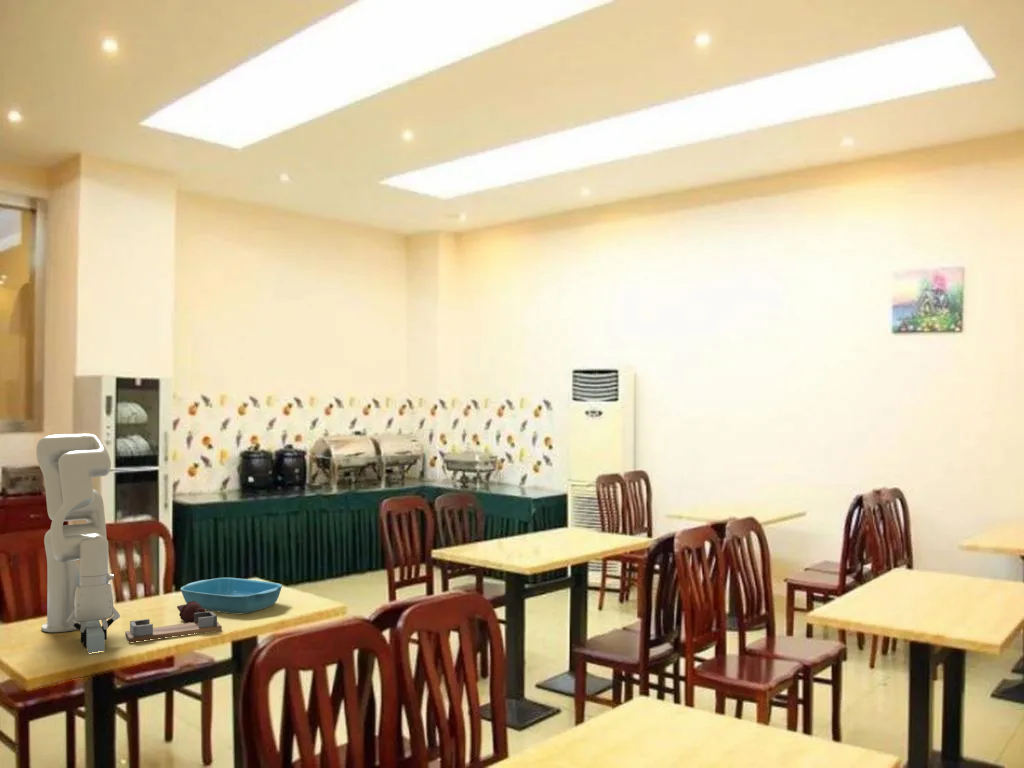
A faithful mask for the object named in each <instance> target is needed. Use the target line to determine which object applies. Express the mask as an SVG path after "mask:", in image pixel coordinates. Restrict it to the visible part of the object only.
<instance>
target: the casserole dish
mask: <svg viewBox="0 0 1024 768" xmlns="http://www.w3.org/2000/svg"><path fill="white" fill-rule="evenodd" d="M282 588H283V585H282V584H281V583H278V582H277V583H276V582H270V581H262V580H254V579H248V578H240V577H238V578H236V577H217V578H211V579H201V580H198V581H193V582H190V583H187V584H185V585H183V586H181V587H180V592H181V594H182V597H183V599H184V602H185V603H186V604H187V603H188V602H192V601H196V602H197V603H199V604H200V605H201V607H202V608H204V609H206V610H205V611H210V610H212V612H217V611H220V612H219V613H224V612H227V613H226V614H232V613H246V614H250V612H251V613H255V612H257V610H258V611H260V610H263V609H267V608H270V607H272V606H273V605H274V604H275V603H277V601H278V599H279V596H280V594H281V591H282Z"/></svg>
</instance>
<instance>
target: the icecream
mask: <svg viewBox="0 0 1024 768" xmlns="http://www.w3.org/2000/svg"><path fill="white" fill-rule="evenodd" d="M176 608H177V609H178V612H179V617H180V620H181V621H183V623H185V622H188V623H189V622H190V623H192V622H194V613H199V612H206V610H205V609H204V608H202V607H201V605H200V604H199V603H197V602H196V601H192V602H188V603H186V604H182V605H181V604H180V605H177V606H176Z"/></svg>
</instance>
